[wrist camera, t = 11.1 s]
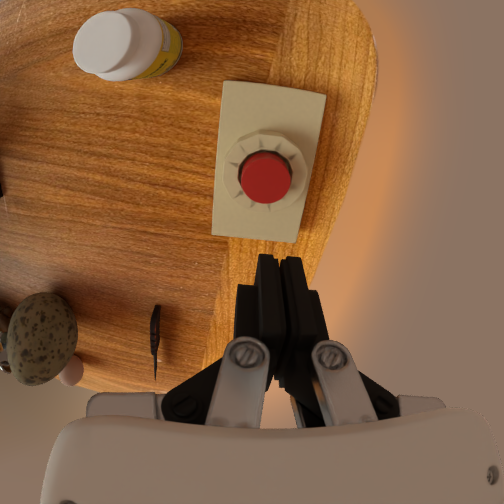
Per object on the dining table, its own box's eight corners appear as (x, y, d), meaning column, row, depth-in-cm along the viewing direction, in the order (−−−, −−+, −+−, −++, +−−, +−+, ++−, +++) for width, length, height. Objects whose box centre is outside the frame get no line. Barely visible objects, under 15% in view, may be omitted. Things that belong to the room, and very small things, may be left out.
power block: (226, 79, 20) (221, 80, 17) (320, 93, 21) (333, 96, 18) (214, 223, 28) (209, 245, 25) (293, 231, 29) (298, 254, 26)
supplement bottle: (130, 84, 20) (68, 97, 12) (122, 32, 17) (59, 21, 9) (188, 70, 20) (149, 68, 12) (181, 15, 17) (139, -14, 9)
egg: (68, 345, 43) (55, 374, 37) (90, 359, 45) (79, 388, 39) (63, 354, 45) (51, 381, 39) (84, 367, 47) (74, 394, 41)
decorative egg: (67, 331, 40) (36, 403, 28) (25, 288, 35) (-18, 358, 22) (102, 317, 37) (67, 404, 25) (53, 265, 32) (-1, 350, 20)
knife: (160, 368, 45) (157, 382, 42) (155, 367, 45) (152, 381, 42) (161, 304, 35) (156, 322, 33) (154, 303, 35) (148, 320, 33)
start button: (244, 149, 21) (243, 155, 19) (291, 155, 21) (294, 162, 19) (239, 192, 23) (238, 201, 21) (284, 197, 23) (286, 206, 21)
